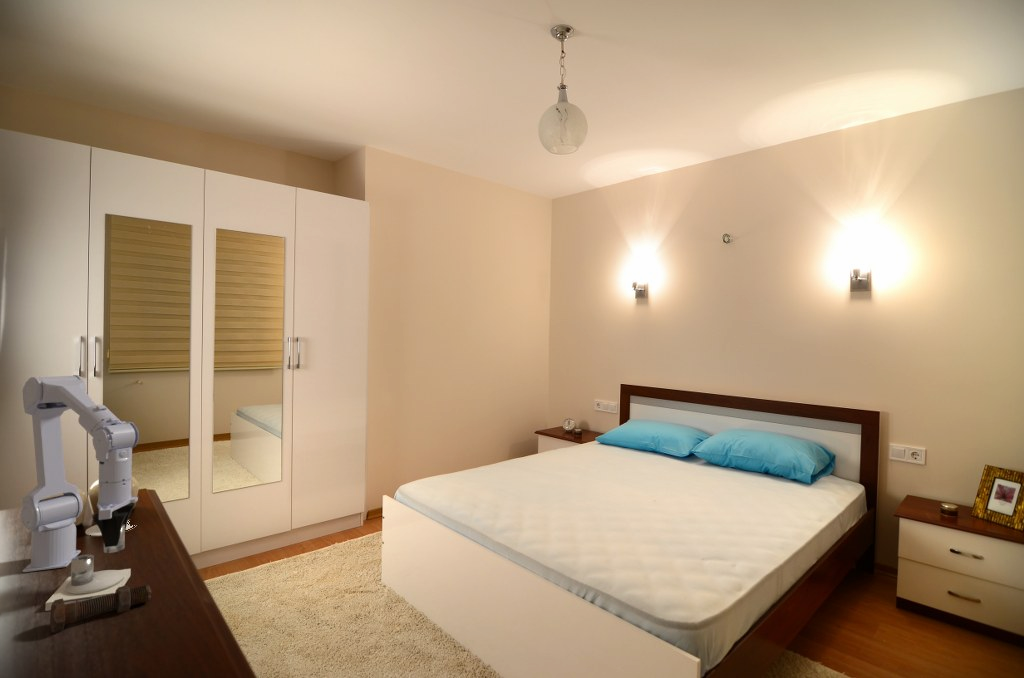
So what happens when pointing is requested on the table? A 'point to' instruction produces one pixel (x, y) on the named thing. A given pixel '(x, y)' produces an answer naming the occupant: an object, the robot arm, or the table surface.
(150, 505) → the table surface
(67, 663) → the table surface
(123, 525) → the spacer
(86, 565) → the spacer
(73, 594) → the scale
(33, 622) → the table surface
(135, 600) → the bolt
